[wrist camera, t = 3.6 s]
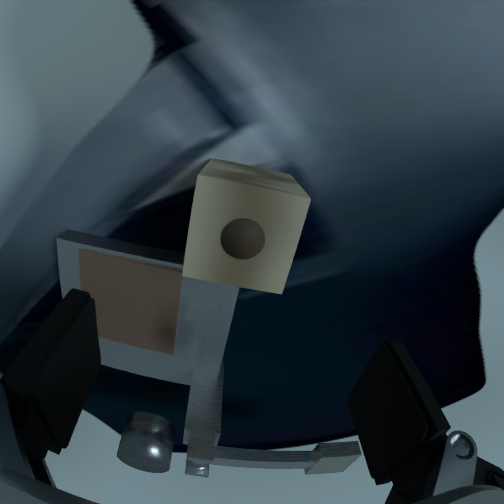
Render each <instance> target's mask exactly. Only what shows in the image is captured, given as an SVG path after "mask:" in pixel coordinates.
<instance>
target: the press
mask: <svg viewBox="0 0 504 504" xmlns="http://www.w3.org/2000/svg"><path fill="white" fill-rule="evenodd" d="M56 239H57V254H58V265H59V275H60V284H61V291H62V299H63V298H64V297H65V295H66V294H67V293H68V292H69V291H70V290H71V289H72V288H75V289H78V290H82V291H86V292H89V293H90V296H91V298H93V299H94V300H95V307H96V319H97V329H98V338H99V346H100V354H101V364H102V365H106V366H109V367H113V368H116V369H120V370H124V371H127V372H131V373H135V374H139V375H143V376H148V377H152V378H156V379H161V380H166V381H170V382H175V383H180V384H186V385H191V388H190V395H189V402H188V408H187V415H186V422H185V430H184V438H183V444H188V451H187V453H188V456H187V460H192V461H199V462H206V463H213V461H214V447H215V446H217V443H218V440H219V437H220V433H221V412H222V392H223V374H224V361H222V358H223V353H224V349H225V345H226V341H227V337H228V333H229V328H230V324H231V320H232V316H233V312H234V308H235V303H236V299H237V295H238V291H239V287H237V286H232V285H226V284H221V283H215V282H210V281H205V280H199V279H194V278H189V277H184V276H182V274H183V266H184V258H185V253H181V252H175V251H170V250H165V249H160V248H155V247H150V246H145V245H140V244H135V243H130V242H126V241H121V240H116V239H111V238H106V237H101V236H96V235H92V234H87V233H82V232H77V231H72V230H66V231H65V232H64V233H62V234H61V235H60V236H59V237H57V238H56ZM187 460H186V469H185V474H188V475H194V476H202V477H208V475H209V464H208V465H207V466H206V467H203V468H196V467H193V466H192V465H190V464H189V462H188V461H187Z"/></svg>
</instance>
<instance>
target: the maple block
mask: <svg viewBox="0 0 504 504" xmlns="http://www.w3.org/2000/svg"><path fill="white" fill-rule="evenodd" d="M310 201H311V198H310V197H309V196H308V195H307V193H306V192H305V191H304V190H303V189H302V188H301V186H300V185H299V184H298V183H297V182H296V180H295V179H294V178H293V177H292V176H291V175H289V174H284V173H280V172H276V171H272V170H267V169H263V168H258V167H254V166H249V165H244V164H239V163H234V162H229V161H224V160H219V159H214V158H211V159H210V161H209V162H208V163H207V164H206V165H205V167H204V168H203V169H202V170H201V171H200V173H199V174H198V176H197V182H196V187H195V193H194V199H193V205H192V211H191V217H190V224H189V230H188V237H187V244H186V251H185V258H184V266H183V274H182V276H184V277H189V278H194V279H199V280H205V281H210V282H215V283H221V284H226V285H232V286H237V287H243V288H249V289H254V290H260V291H266V292H272V293H278V294H282V292H283V289H284V286H285V282H286V279H287V276H288V273H289V270H290V267H291V264H292V260H293V257H294V254H295V251H296V247H297V244H298V241H299V238H300V234H301V231H302V228H303V224H304V221H305V218H306V214H307V211H308V207H309V204H310Z"/></svg>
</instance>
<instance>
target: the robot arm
mask: <svg viewBox="0 0 504 504" xmlns="http://www.w3.org/2000/svg"><path fill="white" fill-rule="evenodd" d="M100 367H101V354H100V346H99V338H98V329H97V319H96V307H95V300H94V299H93V298H91V296H90V293H89V292H86V291H82V290H78V289H75V288H72V289H71V290H70V291H69V292H68V293H67V294H66V295H65V297H64V298H63V299H62V300H61V301H60V303H59V304H58V305H57V306H56V308H55V309H54V310H53V311H52V313H51V314H50V315H49V316H48V318H47V319H46V320H45V321H44V322H43V323H42V324H40V325H39V327H38V328H37V329H36V330H35V332H34V333H33V334H32V336H31V337H30V338H29V340H28V341H27V342H26V344H25V345H24V346H23V348H22V349H21V351H20V352H19V353H18V355H17V356H16V358H15V359H14V360H13V362H12V363H11V365H10V366H9V368H8V369H7V371H6V372H5V374H4V375H3V377H2V378H1V380H0V504H99V503H95V502H92V501H89V500H86V499H84V498H81V497H78V496H75V495H72V494H70V493H67V492H65V491H62V490H60V489H57V488H56V485H55V483H54V481H53V479H52V476H51V474H50V472H49V469H48V467H47V465H46V462H45V459H44V458H45V457H46V454H47V452H48V450H49V451H52V452H54V453H56V454H60V452H61V449H62V448H66V447H67V446H68V444H69V441H70V439H71V436H72V434H73V431H74V429H75V426H76V424H77V421H78V419H79V416H80V414H81V411H82V409H83V406H84V404H85V402H86V399H87V397H88V395H89V392H90V390H91V388H92V386H93V383H94V381H95V379H96V377H97V374H98V372H99V370H100ZM347 402H348V406H349V409H350V412H351V415H352V418H353V421H354V424H355V428H356V431H357V434H358V437H359V440H360V443H361V446H362V450H363V453H364V456H365V459H366V462H367V466H368V469H369V472H370V475H371V477H372V478H373V479H375V483H376V485H380V484H385V483H389V482H390V481H392V483H393V487H392V489H391V491H390V493H389V496H388V498H387V500H386V502H385V504H504V471H503V470H502V469H501V468H499V467H497V466H495V465H493V464H491V463H489V462H487V461H485V460H483V459H481V458H479V457H478V456H477V446H476V443H475V442H474V440H473V439H472V437H471V436H470V435H468V434H467V433H465V432H463V431H454V432H451V434H449V435H448V436H447V435H446V432H447V431H448V430H449V429H450V428H451V427H450V425H449V423H448V421H447V419H446V417H445V416H444V414H443V412H442V410H441V408H440V406H439V405H438V403H437V401H436V399H435V397H434V396H433V394H432V392H431V390H430V389H429V387H428V385H427V383H426V382H425V380H424V378H423V377H422V375H421V373H420V372H419V370H418V368H417V367H416V365H415V363H414V362H413V360H412V358H411V357H410V355H409V354H408V352H407V350H406V349H405V347H404V346H403V344H402V343H401V342H399V341H385V342H383V344H382V345H380V346H379V347H378V348H377V350H376V351H375V353H374V355H373V357H372V358H371V360H370V362H369V363H368V365H367V367H366V368H365V370H364V372H363V373H362V375H361V376H360V378H359V380H358V381H357V383H356V384H355V386H354V387H353V389H352V390H351V392H350V393H349V395H348V400H347Z"/></svg>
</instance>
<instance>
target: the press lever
mask: <svg viewBox="0 0 504 504" xmlns="http://www.w3.org/2000/svg"><path fill="white" fill-rule="evenodd" d="M174 435H175V427H174V425H173V424H172V423H171V422H169V421H168V420H167V419H165V418H163V417H161V416H158V415H156V414H152V413H148V412H132V413H130V414H129V415H128V416H127V419H126V423H125V426H124V430H123V433H122V437H121V441H120V444H119V448H118V451H117V457H118V458H119V459H120V460H121V461H122V462H124V463H125V464H127V465H129V466H131V467H133V468H136V469H139V470H142V471H147V472H152V473H163V472H167V471H168V470H169V469H170V462H171V455H172V448H173V442H174ZM187 456H188V453H187ZM360 456H361V450H360V447H359V443H358V441H351V442H335V443H319V444H318V445H317V446H316V448H314V450H313V451H271V450H252V449H239V448H229V447H220V446H215V447H214V461H213V463H206V462H199V461H192V460H187V461H188V462H189V464H190V465H192V466H193V467H196V468H203V467H206V466H207V465H208V464H213V465H222V466H234V467H246V468H270V469H300V468H304V470H305V474H323V473H336V472H343V471H344V470H345V469H346V468H347V467H349V466H350V465H351V464H352V463H353V462H354V461H355V460H356V459H358V457H360Z"/></svg>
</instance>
